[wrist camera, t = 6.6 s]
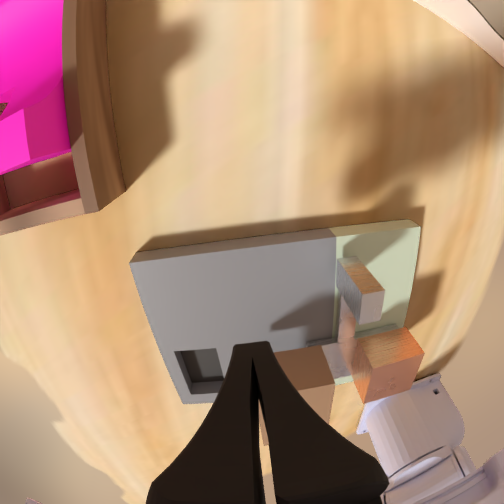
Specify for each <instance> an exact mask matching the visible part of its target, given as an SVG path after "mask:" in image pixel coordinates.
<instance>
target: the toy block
mask: <svg viewBox="0 0 504 504" xmlns="http://www.w3.org/2000/svg"><path fill="white" fill-rule="evenodd" d="M63 1H64V0H0V103H8V104H7V106H6V108H5V109H4V111H3V113H2V114H1V115H0V175H2V174H5V173H7V172H10V171H13V170H16V169H19V168H22V167H25V166H28V165H31V164H34V163H37V162H40V161H44V160H47V159H50V158H54V157H57V156H60V155H63V154H66V153H69V152H72V151H71V145H70V139H69V132H68V125H67V117H66V108H65V98H64V86H63V69H62V16H63Z"/></svg>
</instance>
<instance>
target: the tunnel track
mask: <svg viewBox="0 0 504 504" xmlns="http://www.w3.org/2000/svg"><path fill="white" fill-rule="evenodd" d="M420 230H421V226H419V225H418V224H416V223H414V222H413V221H411V220H410V219H405V220H395V221H386V222H377V223H367V224H358V225H349V226H341V227H332V228H323V229H314V230H306V231H297V232H289V233H281V234H273V235H264V236H256V237H248V238H240V239H233V240H225V241H217V242H209V243H202V244H194V245H187V246H179V247H172V248H164V249H157V250H150V251H143V252H136V253H135V255H134V256H133V258H132V260H131V261H130V263H129V264H130V268H131V271H132V274H133V277H134V280H135V284H136V287H137V290H138V293H139V296H140V299H141V302H142V305H143V307H144V310H145V313H146V316H147V319H148V321H149V324H150V327H151V330H152V332H153V335H154V337H155V340H156V343H157V345H158V348H159V350H160V353H161V355H162V357H163V360H164V362H165V365H166V367H167V369H168V372H169V374H170V376H171V379H172V381H173V383H174V385H175V388H176V390H177V392H178V394H179V396H180V398H181V401H182V403H183V404H198V403H214V401H215V399H216V397H217V394H218V392H219V390H220V388H221V386H222V383H223V380H224V378H225V375H226V372H227V369H228V366H229V363H230V359H231V355H232V350H233V346H234V345H235V344H243V343H252V342H260V341H268V342H270V345H271V348H272V350H273V353H274V355H275V357H276V359H277V361H278V362H279V364H280V366H281V368H282V369H283V371H284V372H285V374H286V375H287V377H288V379H289V380H290V382H291V383H292V384H293V386H294V387H295V388H296V390H297V391H298V392H299V394H300V395H301V396H302V397H303V399H304V400H305V401H306V402H307V403H308V404H309V405H310V407H311V408H312V409H313V410H314V411H315V412H316V413H317V414H318V415H319V416H320V417H321V418H322V419H323V420H324V421H325V422H326V423H328V424H329V419H330V413H331V408H332V402H333V395H334V389H335V385H339V384H344V383H348V382H352V381H354V380H353V378H352V376H351V375H350V376H346V377H342V378H337V379H334V378H333V376H332V373H331V370H330V368H329V365H328V362H327V360H326V357H325V354H324V352H323V349H322V346H321V345H317V346H311V347H306V342H311V341H317V340H323V339H328V338H333V337H335V332H336V319H337V305H338V289H337V287H336V267H337V258H343V257H350V256H357V257H358V258H359V260H360V261H361V262H362V263H363V264H364V265H365V267H366V268H367V269H368V270H369V271H370V273H371V274H372V275H373V276H374V277H375V278H376V280H377V281H378V282H379V283H380V285H381V286H382V287H383V288H384V289H385V295H384V302H383V308H382V314H381V319H380V321H375V322H371V323H366V324H361V325H359V324H358V323H357V321H356V326H355V333H358V332H362V331H367V330H371V329H376V328H380V327H384V326H388V325H392V324H396V325H397V326H398V328H403V326H404V322H405V318H406V314H407V309H408V305H409V300H410V295H411V290H412V285H413V279H414V273H415V267H416V261H417V254H418V247H419V239H420ZM259 421H260V427H261V433H262V438H263V444H264V446H265V445H269V442H268V436H267V432H266V428H265V424H264V419H263V415H262V411H261V406H260V402H259Z"/></svg>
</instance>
